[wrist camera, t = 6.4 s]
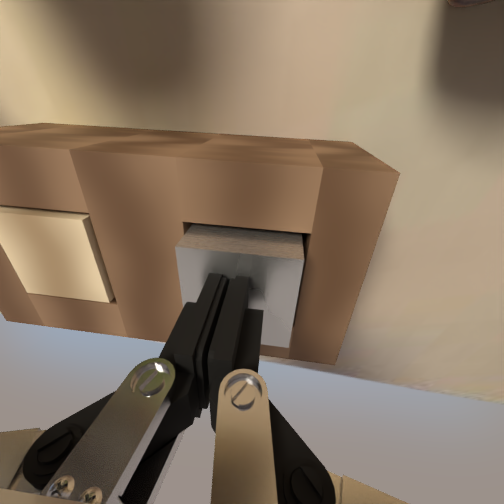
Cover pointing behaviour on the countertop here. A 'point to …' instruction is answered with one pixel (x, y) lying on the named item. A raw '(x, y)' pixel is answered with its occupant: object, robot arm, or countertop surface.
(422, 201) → the countertop surface
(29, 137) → the sleeve block
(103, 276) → the beech peg
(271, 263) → the metal peg
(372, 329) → the countertop surface
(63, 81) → the countertop surface
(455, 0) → the tin
